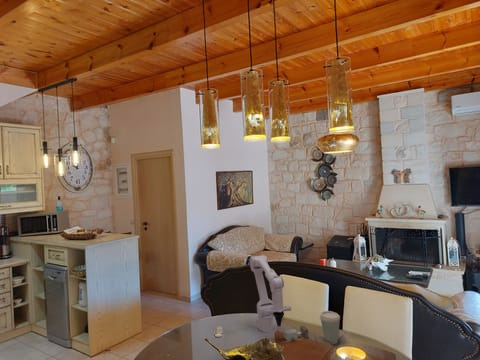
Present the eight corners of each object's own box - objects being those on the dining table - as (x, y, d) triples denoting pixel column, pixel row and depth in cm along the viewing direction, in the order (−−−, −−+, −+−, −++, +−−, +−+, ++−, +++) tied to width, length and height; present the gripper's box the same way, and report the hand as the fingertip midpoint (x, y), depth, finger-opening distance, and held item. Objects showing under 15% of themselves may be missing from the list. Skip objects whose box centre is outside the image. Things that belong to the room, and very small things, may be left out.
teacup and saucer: (219, 339, 192) (219, 332, 192) (209, 336, 197) (209, 329, 197) (229, 333, 199) (229, 326, 199) (219, 330, 204) (218, 324, 204)
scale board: (279, 348, 176) (278, 336, 176) (271, 339, 187) (271, 328, 188) (311, 343, 180) (310, 331, 180) (301, 334, 192) (301, 323, 192)
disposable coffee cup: (344, 339, 182) (342, 311, 183) (338, 348, 173) (337, 318, 174) (324, 336, 188) (323, 309, 188) (318, 344, 178) (317, 315, 179)
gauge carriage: (289, 343, 178) (288, 335, 178) (284, 337, 185) (283, 330, 185) (304, 340, 181) (304, 332, 181) (299, 335, 187) (299, 328, 187)
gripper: (267, 304, 177) (268, 330, 177) (292, 300, 181) (294, 326, 180) (263, 300, 184) (264, 325, 184) (287, 296, 188) (289, 321, 187)
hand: (278, 325), depth 182 cm, fingers closed
